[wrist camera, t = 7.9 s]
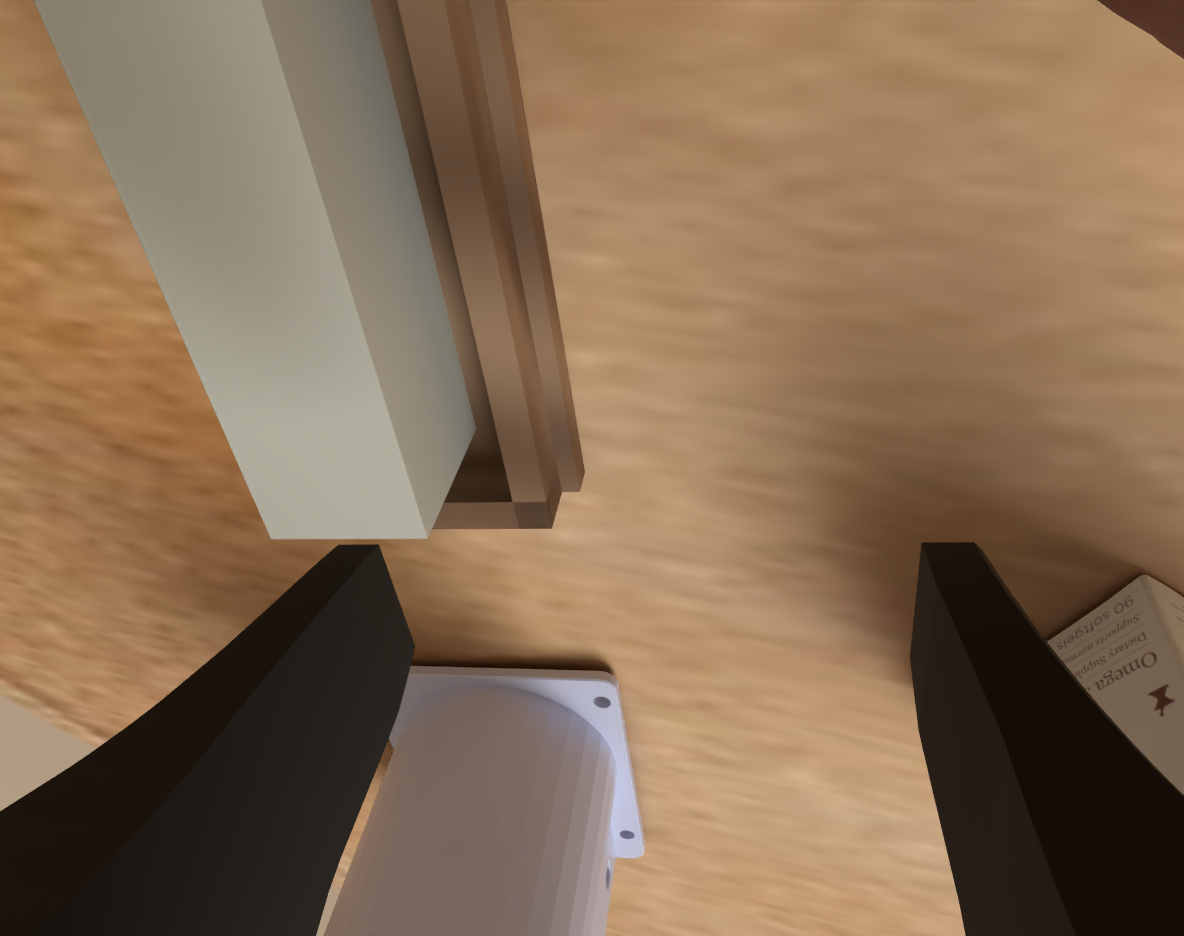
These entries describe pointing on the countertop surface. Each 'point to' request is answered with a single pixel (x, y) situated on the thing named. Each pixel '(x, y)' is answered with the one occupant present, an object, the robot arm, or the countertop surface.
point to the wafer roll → (1154, 19)
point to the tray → (486, 256)
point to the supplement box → (1135, 668)
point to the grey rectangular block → (283, 245)
